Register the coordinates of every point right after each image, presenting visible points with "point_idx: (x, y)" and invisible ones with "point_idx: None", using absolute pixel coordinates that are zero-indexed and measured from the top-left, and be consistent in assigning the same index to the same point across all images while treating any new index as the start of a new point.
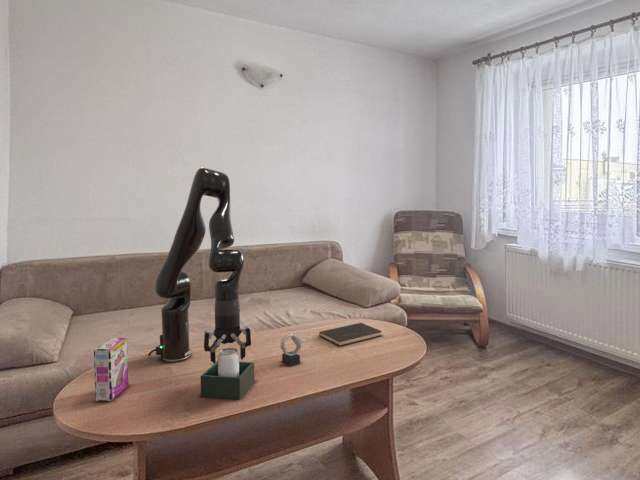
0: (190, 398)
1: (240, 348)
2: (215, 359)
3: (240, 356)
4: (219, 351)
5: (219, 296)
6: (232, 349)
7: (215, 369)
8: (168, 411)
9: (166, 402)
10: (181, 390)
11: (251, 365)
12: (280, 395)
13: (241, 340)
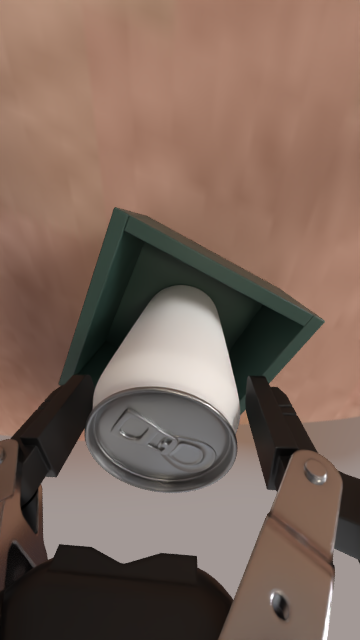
0: (71, 339)
1: (269, 455)
2: (85, 424)
3: (250, 391)
4: (86, 438)
5: None
6: (198, 408)
7: (115, 278)
8: (36, 384)
9: (12, 340)
10: (27, 274)
11: (294, 354)
12: (319, 404)
13: (333, 546)
